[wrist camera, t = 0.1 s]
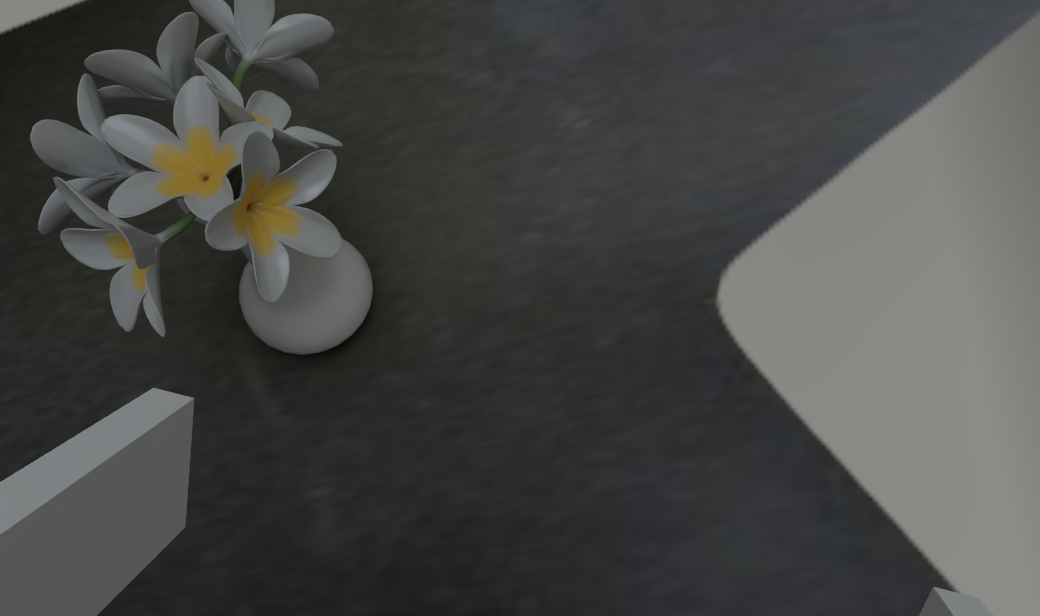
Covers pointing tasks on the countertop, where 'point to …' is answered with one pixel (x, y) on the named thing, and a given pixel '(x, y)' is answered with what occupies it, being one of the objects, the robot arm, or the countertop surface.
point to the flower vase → (211, 176)
